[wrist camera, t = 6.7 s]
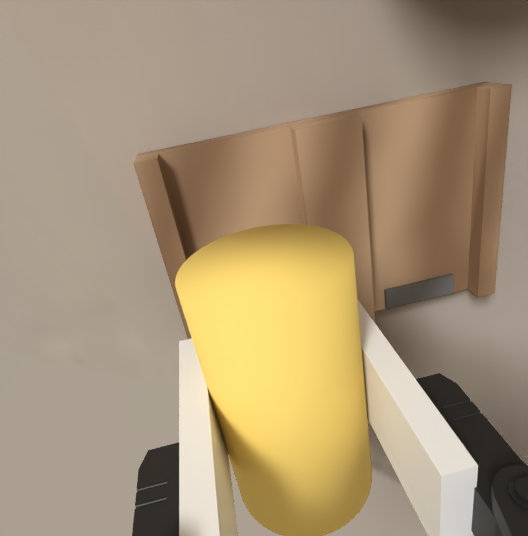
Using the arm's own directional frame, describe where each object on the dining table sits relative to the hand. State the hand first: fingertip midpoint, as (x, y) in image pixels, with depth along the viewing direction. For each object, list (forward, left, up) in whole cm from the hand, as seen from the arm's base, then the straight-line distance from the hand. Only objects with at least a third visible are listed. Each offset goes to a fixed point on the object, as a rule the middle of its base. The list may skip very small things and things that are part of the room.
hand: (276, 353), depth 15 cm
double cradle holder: (-5, 0, -10) cm, 11 cm away
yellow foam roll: (0, 0, +2) cm, 2 cm away
